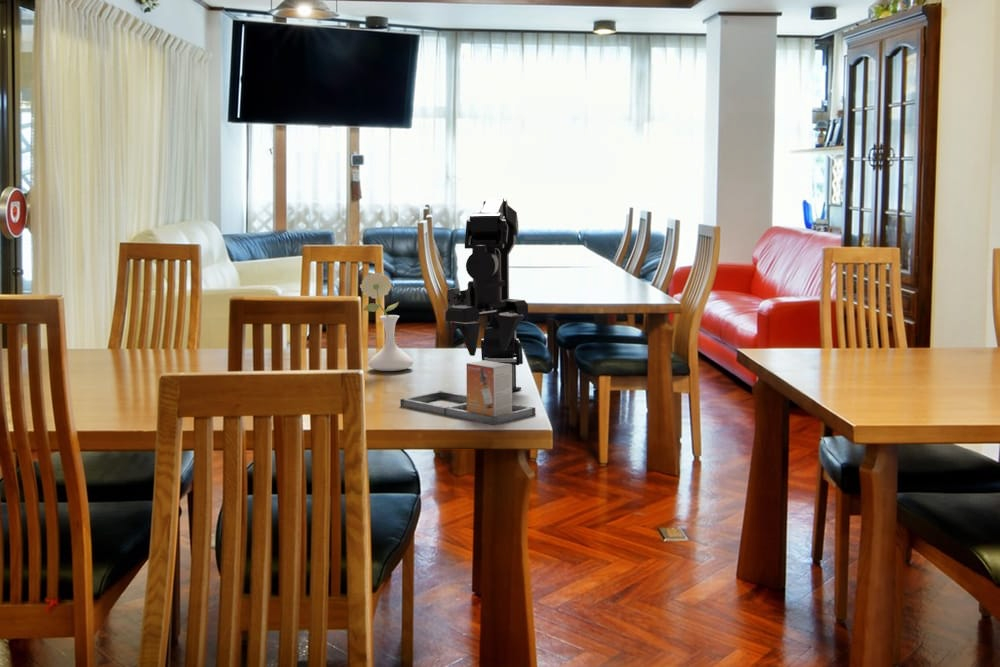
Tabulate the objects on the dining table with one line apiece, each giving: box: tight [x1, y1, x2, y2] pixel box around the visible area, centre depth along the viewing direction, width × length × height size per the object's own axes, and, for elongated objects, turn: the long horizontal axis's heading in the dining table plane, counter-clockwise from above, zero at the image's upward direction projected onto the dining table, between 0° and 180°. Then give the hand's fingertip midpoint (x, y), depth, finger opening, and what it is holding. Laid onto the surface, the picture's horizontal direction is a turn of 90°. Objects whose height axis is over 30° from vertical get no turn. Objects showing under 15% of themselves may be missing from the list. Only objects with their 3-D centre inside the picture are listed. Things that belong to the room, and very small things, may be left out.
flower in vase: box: [359, 271, 414, 372], centre depth 274 cm, size 13×11×25 cm
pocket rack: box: [399, 390, 536, 426], centre depth 226 cm, size 12×28×2 cm, turn 46°
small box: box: [466, 359, 513, 416], centre depth 221 cm, size 8×6×10 cm
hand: (488, 352), depth 220 cm, fingers open, 9 cm apart
